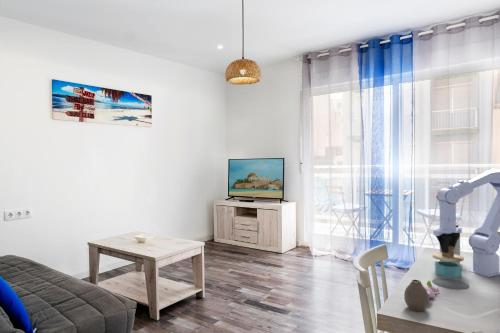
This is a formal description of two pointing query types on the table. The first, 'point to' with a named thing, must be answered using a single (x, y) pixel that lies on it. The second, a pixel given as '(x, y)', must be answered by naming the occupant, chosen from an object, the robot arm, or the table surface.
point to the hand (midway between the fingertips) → (447, 251)
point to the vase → (416, 296)
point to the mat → (450, 283)
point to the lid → (448, 256)
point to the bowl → (448, 269)
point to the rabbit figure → (431, 290)
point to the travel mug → (457, 246)
